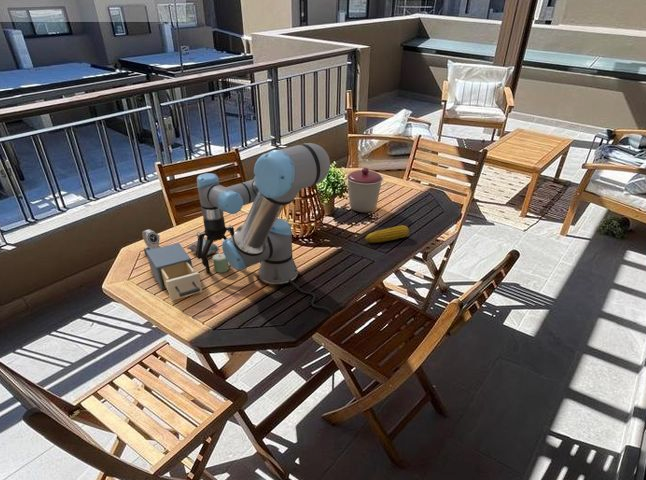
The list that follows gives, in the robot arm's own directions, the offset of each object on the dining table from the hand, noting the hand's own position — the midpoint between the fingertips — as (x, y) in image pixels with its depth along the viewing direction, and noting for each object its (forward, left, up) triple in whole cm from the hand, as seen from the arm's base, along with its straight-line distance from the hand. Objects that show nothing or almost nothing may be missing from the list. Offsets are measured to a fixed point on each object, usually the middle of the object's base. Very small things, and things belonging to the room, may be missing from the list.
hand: (221, 268), depth 178 cm
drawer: (-6, +19, +1) cm, 20 cm away
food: (-27, -69, 0) cm, 74 cm away
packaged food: (+16, -1, 0) cm, 16 cm away
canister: (+5, -86, 0) cm, 86 cm away
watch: (+28, +15, 0) cm, 32 cm away
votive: (0, 0, 0) cm, 0 cm away
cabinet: (+7, +17, 0) cm, 19 cm away
